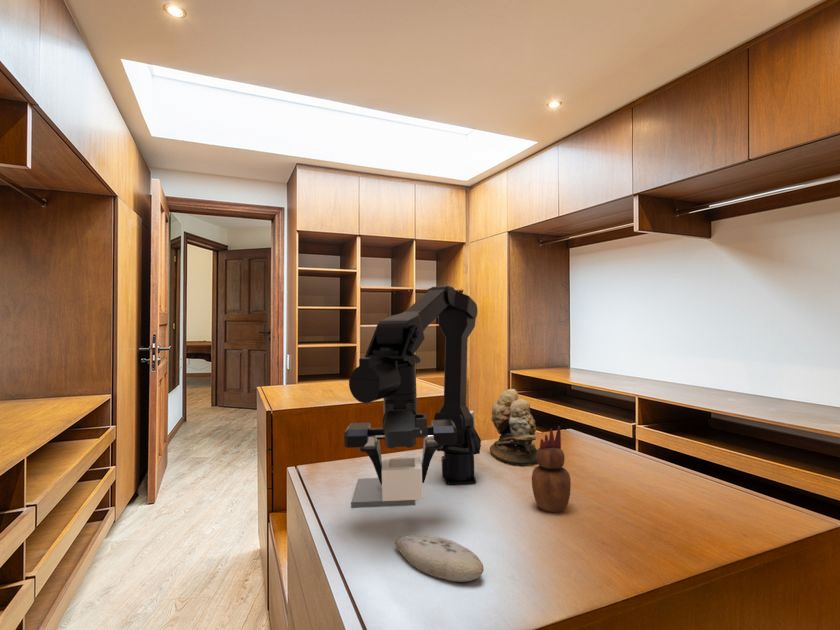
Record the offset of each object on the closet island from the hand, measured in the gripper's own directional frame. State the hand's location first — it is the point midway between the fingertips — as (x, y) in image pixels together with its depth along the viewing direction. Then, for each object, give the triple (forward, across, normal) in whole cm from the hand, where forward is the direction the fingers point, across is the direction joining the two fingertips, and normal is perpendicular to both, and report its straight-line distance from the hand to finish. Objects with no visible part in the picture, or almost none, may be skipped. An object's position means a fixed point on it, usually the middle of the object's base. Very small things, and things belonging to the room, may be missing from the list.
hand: (402, 483), depth 75 cm
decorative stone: (+8, +5, -12) cm, 15 cm away
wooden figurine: (+8, +27, +4) cm, 28 cm away
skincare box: (+8, +16, +40) cm, 44 cm away
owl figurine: (+8, +28, +34) cm, 45 cm away
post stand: (+7, -4, +14) cm, 16 cm away
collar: (+2, 0, 0) cm, 2 cm away
